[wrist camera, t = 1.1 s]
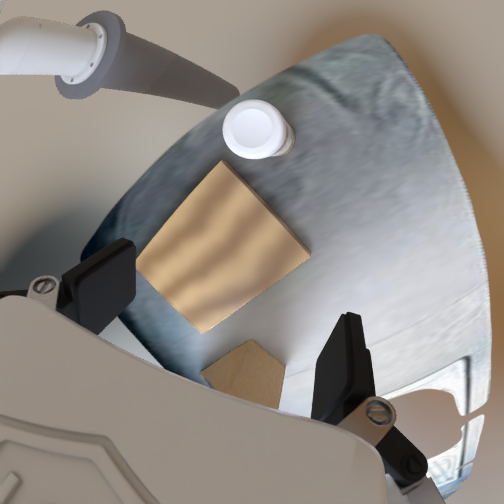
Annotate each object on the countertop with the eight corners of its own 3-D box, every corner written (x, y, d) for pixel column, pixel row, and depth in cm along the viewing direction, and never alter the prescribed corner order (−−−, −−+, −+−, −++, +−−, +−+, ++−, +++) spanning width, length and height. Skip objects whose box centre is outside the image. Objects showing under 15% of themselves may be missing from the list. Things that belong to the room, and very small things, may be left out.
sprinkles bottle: (256, 120, 30) (219, 101, 18) (295, 119, 29) (282, 96, 17) (258, 157, 32) (222, 160, 19) (296, 156, 31) (285, 158, 18)
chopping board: (137, 260, 42) (132, 264, 41) (224, 159, 33) (220, 160, 31) (205, 329, 44) (202, 334, 43) (311, 252, 35) (310, 256, 34)
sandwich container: (197, 372, 49) (165, 430, 35) (250, 336, 43) (223, 407, 29) (230, 397, 50) (206, 456, 36) (287, 367, 43) (272, 439, 30)
